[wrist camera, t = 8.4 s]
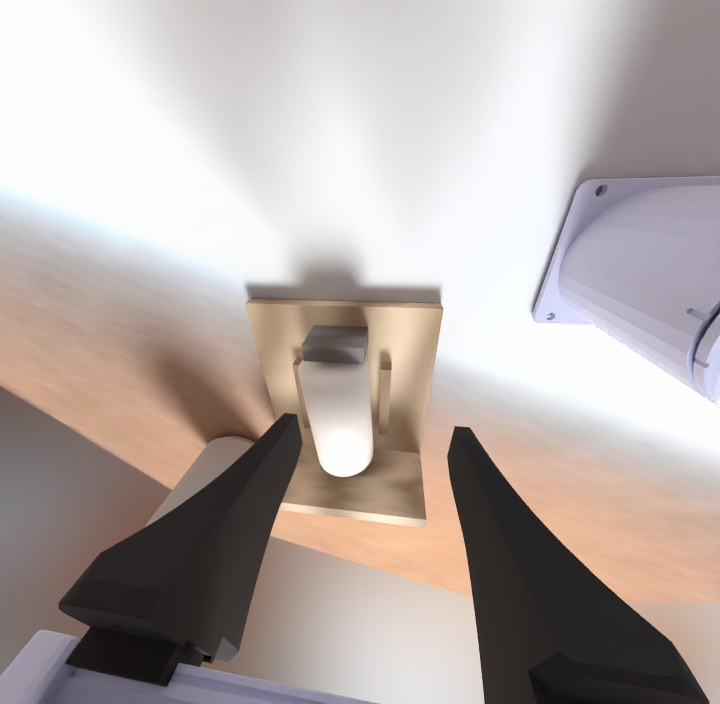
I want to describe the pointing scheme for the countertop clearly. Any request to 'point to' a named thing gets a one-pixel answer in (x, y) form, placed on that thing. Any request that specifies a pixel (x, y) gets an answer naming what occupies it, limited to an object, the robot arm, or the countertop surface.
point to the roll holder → (387, 396)
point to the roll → (339, 414)
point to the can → (204, 470)
